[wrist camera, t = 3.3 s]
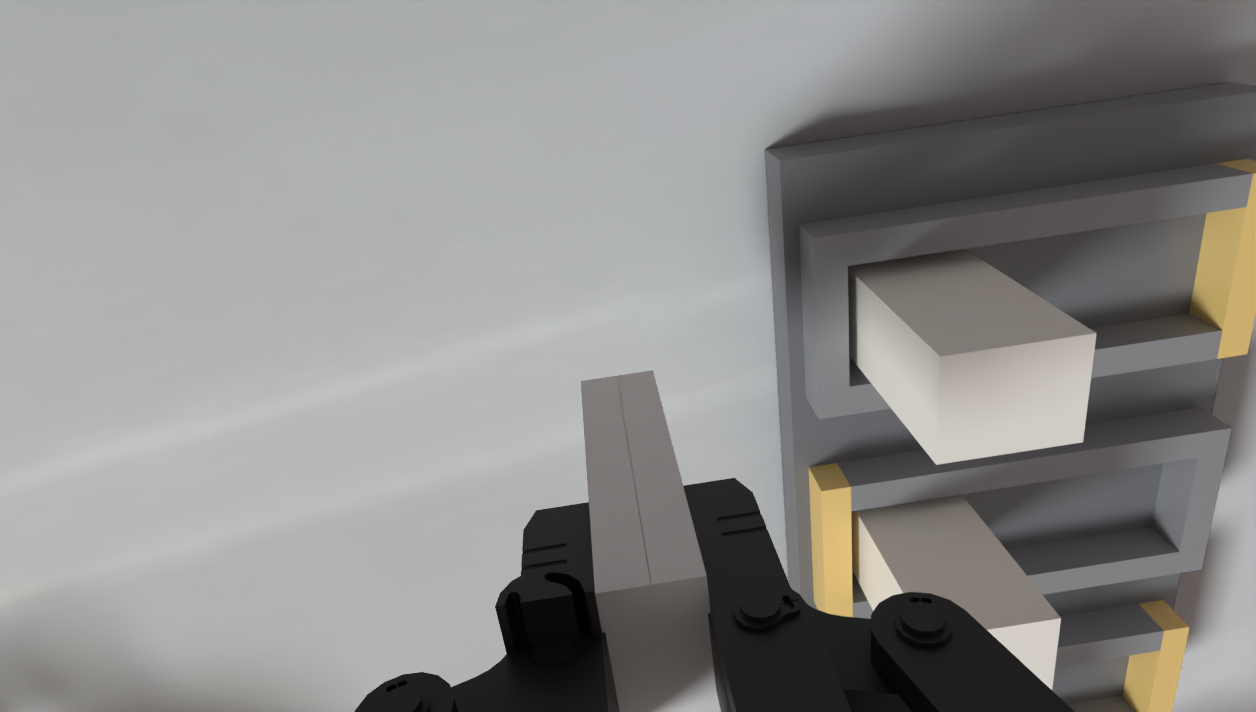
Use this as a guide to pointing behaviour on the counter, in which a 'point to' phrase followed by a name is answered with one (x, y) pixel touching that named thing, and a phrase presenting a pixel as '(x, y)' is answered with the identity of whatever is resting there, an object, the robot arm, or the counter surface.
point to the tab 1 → (969, 356)
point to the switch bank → (1077, 285)
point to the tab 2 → (955, 572)
